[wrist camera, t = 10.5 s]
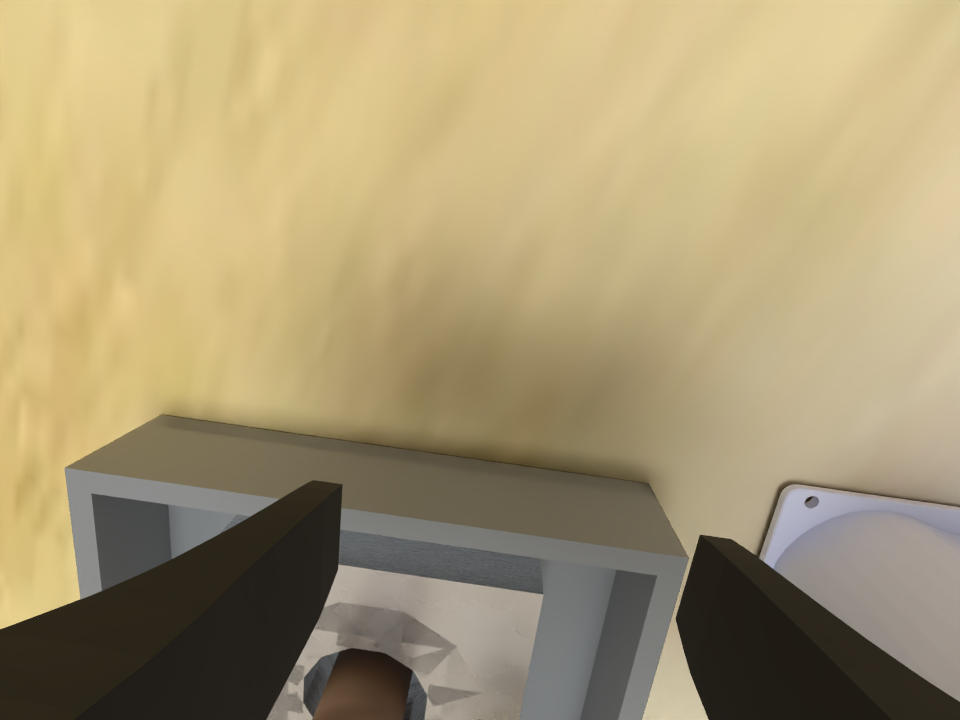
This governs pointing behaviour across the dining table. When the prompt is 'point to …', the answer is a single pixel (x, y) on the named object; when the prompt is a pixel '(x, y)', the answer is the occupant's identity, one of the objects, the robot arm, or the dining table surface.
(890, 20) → the dining table surface
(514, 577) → the bored plate
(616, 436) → the dining table surface
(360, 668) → the peg
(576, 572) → the open box
